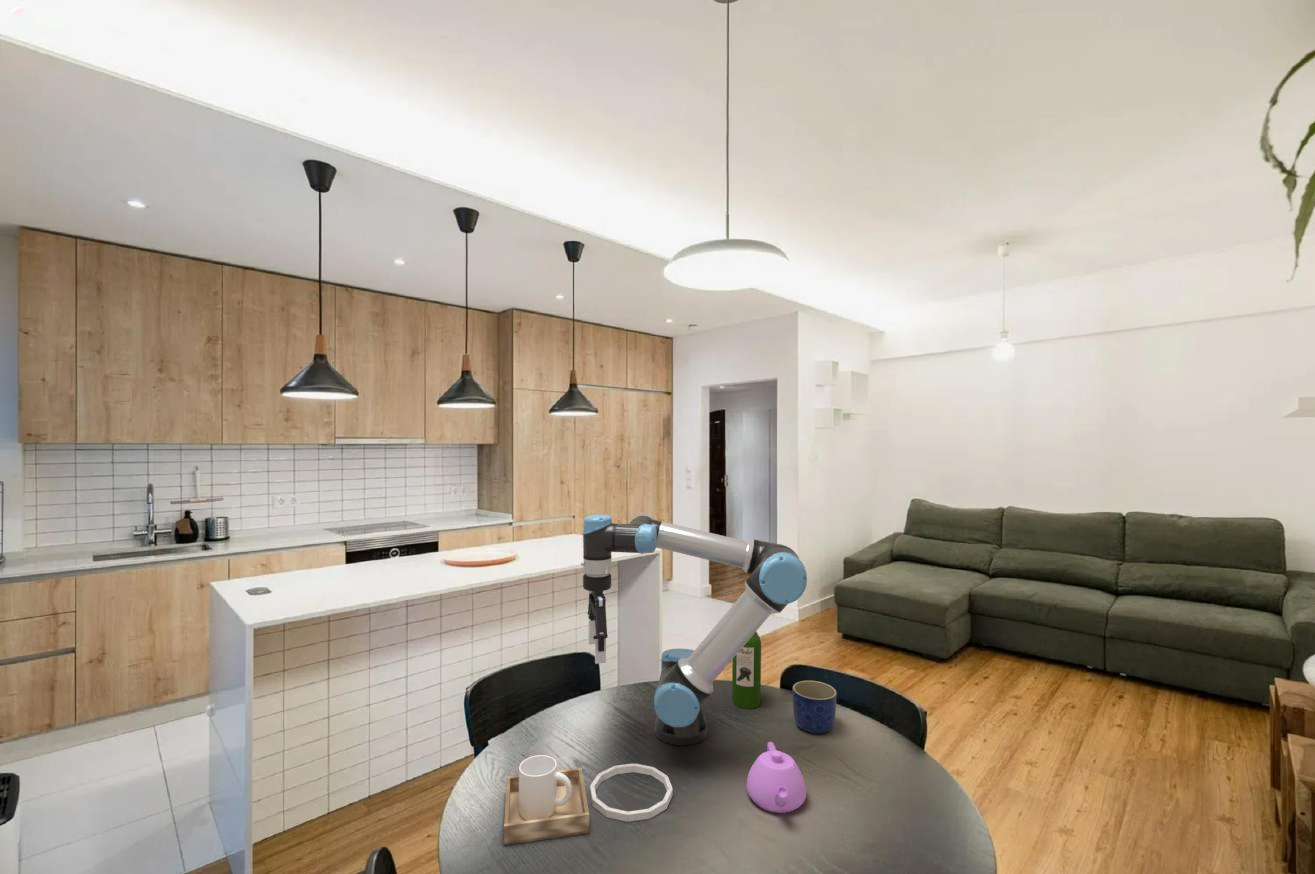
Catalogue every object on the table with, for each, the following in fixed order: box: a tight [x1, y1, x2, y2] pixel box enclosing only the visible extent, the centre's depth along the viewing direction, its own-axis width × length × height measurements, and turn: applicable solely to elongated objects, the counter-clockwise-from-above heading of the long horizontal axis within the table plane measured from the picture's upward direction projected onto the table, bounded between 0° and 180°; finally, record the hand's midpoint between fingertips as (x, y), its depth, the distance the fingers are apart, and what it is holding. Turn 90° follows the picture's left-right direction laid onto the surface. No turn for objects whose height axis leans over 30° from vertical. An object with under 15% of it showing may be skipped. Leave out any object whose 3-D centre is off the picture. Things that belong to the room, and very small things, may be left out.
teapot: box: [746, 741, 807, 814], centre depth 136 cm, size 14×20×11 cm
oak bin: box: [503, 767, 590, 846], centre depth 131 cm, size 18×18×4 cm
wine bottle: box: [731, 631, 762, 710], centre depth 184 cm, size 9×9×32 cm
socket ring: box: [589, 763, 674, 823], centre depth 138 cm, size 19×19×2 cm
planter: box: [792, 680, 838, 734], centre depth 170 cm, size 12×12×11 cm
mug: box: [518, 754, 572, 821], centre depth 130 cm, size 12×8×10 cm
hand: (596, 652), depth 155 cm, fingers open, 13 cm apart
